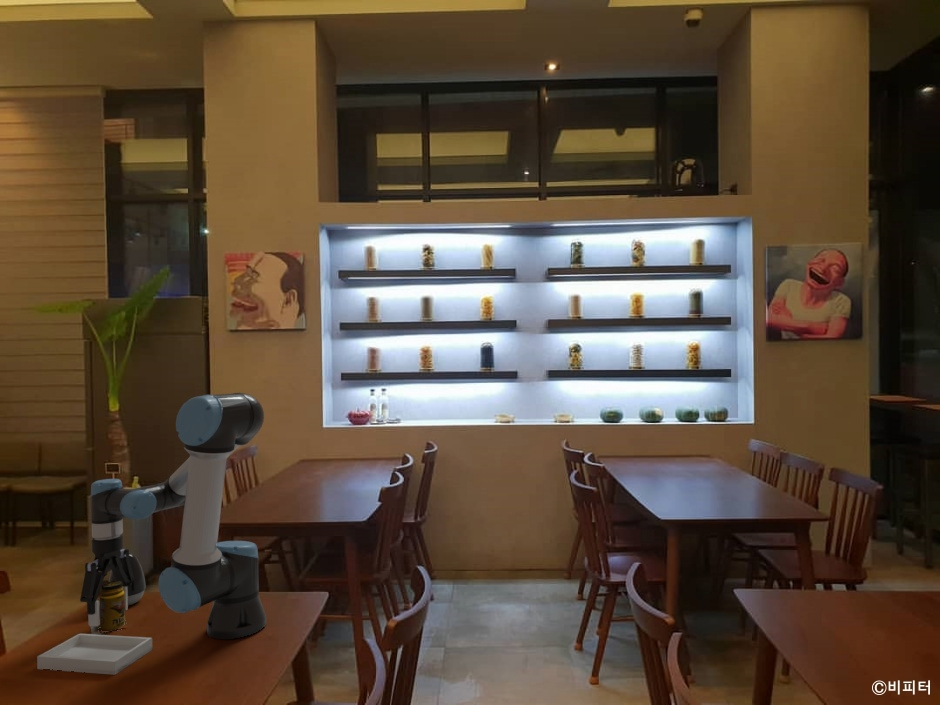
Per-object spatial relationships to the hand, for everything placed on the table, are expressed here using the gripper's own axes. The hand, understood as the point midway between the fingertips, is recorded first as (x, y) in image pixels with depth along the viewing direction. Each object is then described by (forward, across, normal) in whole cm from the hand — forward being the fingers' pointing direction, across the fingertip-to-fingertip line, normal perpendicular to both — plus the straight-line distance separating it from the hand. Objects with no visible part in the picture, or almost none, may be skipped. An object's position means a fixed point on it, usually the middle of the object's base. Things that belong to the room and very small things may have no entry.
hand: (108, 617), depth 178 cm
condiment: (+3, 0, 0) cm, 3 cm away
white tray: (+3, +18, +11) cm, 21 cm away
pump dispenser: (+3, -17, -8) cm, 19 cm away
